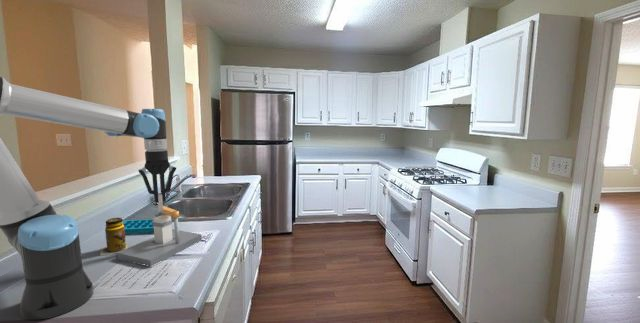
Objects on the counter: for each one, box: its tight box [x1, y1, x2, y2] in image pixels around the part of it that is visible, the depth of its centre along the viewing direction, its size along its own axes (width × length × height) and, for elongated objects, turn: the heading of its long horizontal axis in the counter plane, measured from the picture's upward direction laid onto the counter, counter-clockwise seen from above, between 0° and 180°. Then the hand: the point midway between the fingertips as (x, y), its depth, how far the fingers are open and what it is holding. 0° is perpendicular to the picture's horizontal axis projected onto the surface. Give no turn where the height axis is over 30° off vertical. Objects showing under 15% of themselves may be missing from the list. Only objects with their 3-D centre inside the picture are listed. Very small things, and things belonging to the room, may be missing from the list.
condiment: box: [99, 217, 128, 256], centre depth 113 cm, size 7×8×12 cm
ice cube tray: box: [122, 218, 154, 235], centre depth 134 cm, size 12×20×3 cm, turn 99°
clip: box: [158, 205, 180, 243], centre depth 116 cm, size 2×12×12 cm, turn 53°
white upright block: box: [152, 214, 173, 244], centre depth 116 cm, size 5×5×12 cm
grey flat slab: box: [117, 228, 203, 267], centre depth 114 cm, size 24×16×2 cm, turn 160°
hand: (160, 210), depth 115 cm, fingers closed
